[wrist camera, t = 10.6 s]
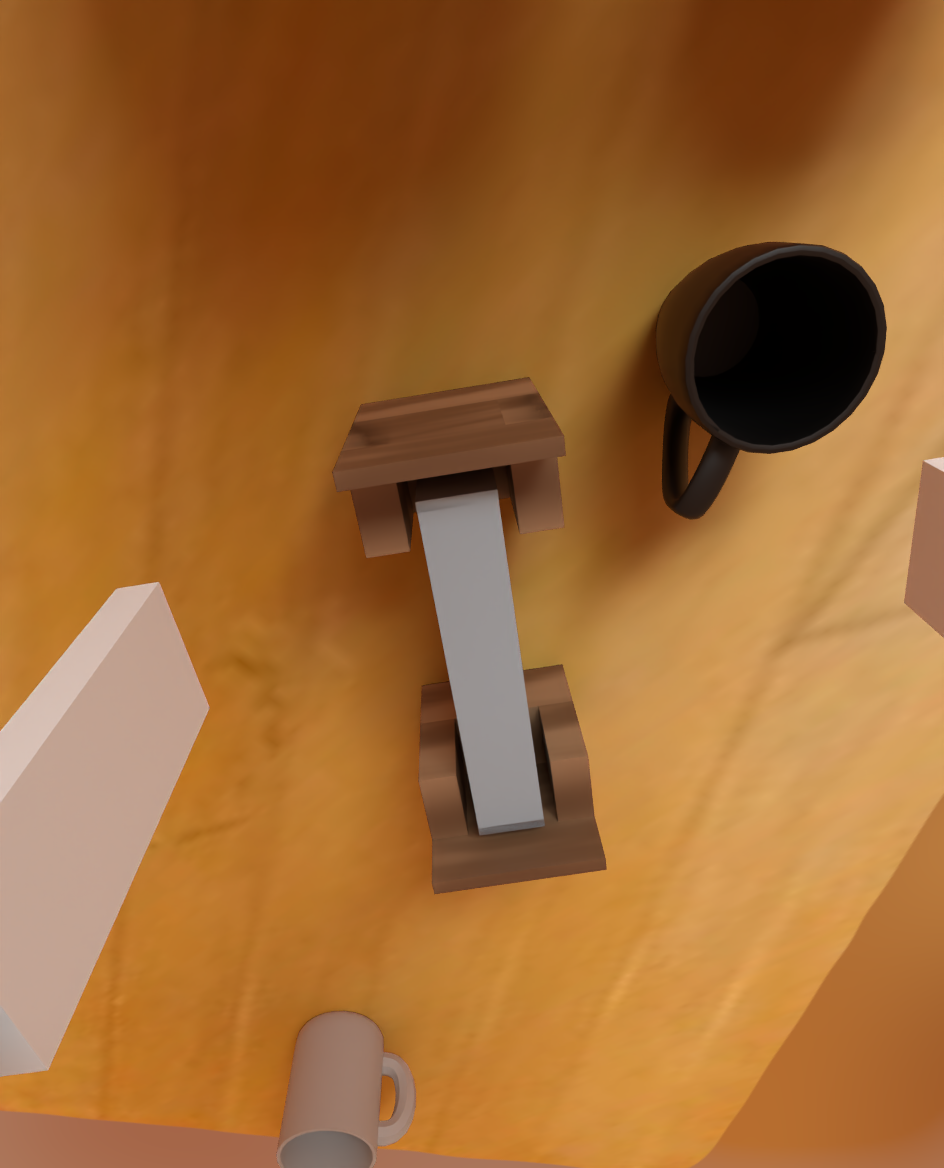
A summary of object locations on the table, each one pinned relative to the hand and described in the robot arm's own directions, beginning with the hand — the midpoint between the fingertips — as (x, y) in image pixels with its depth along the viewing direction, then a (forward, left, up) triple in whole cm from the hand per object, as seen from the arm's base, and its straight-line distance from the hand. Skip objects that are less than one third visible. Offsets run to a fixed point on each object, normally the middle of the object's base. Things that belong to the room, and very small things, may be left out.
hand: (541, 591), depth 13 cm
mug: (+2, +11, -29) cm, 31 cm away
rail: (+14, -2, -24) cm, 28 cm away
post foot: (+22, -2, -28) cm, 36 cm away
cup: (+53, -18, -29) cm, 63 cm away
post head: (+4, -2, -28) cm, 29 cm away
